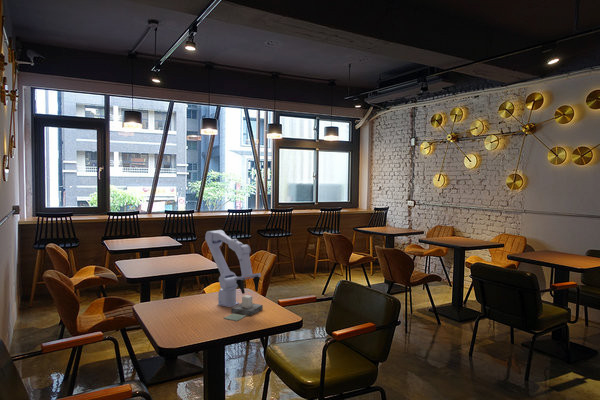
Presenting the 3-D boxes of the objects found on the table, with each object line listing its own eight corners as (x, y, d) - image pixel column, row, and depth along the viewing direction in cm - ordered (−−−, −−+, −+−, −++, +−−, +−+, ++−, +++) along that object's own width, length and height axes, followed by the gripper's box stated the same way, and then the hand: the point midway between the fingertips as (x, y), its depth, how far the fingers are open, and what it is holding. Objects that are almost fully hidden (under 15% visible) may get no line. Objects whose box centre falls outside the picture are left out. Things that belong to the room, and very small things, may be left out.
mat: (223, 318, 202) (223, 317, 202) (233, 314, 210) (233, 313, 210) (237, 321, 199) (237, 320, 199) (245, 316, 206) (245, 315, 206)
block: (242, 311, 214) (242, 296, 213) (246, 309, 217) (246, 294, 217) (248, 312, 212) (248, 297, 212) (252, 310, 216) (252, 295, 215)
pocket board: (231, 312, 212) (231, 308, 212) (243, 306, 223) (243, 301, 223) (250, 316, 207) (250, 311, 207) (262, 309, 218) (262, 304, 217)
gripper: (230, 270, 213) (234, 295, 211) (256, 265, 210) (260, 291, 209) (235, 269, 220) (239, 293, 218) (260, 264, 217) (264, 289, 216)
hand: (250, 292), depth 214 cm, fingers open, 7 cm apart
